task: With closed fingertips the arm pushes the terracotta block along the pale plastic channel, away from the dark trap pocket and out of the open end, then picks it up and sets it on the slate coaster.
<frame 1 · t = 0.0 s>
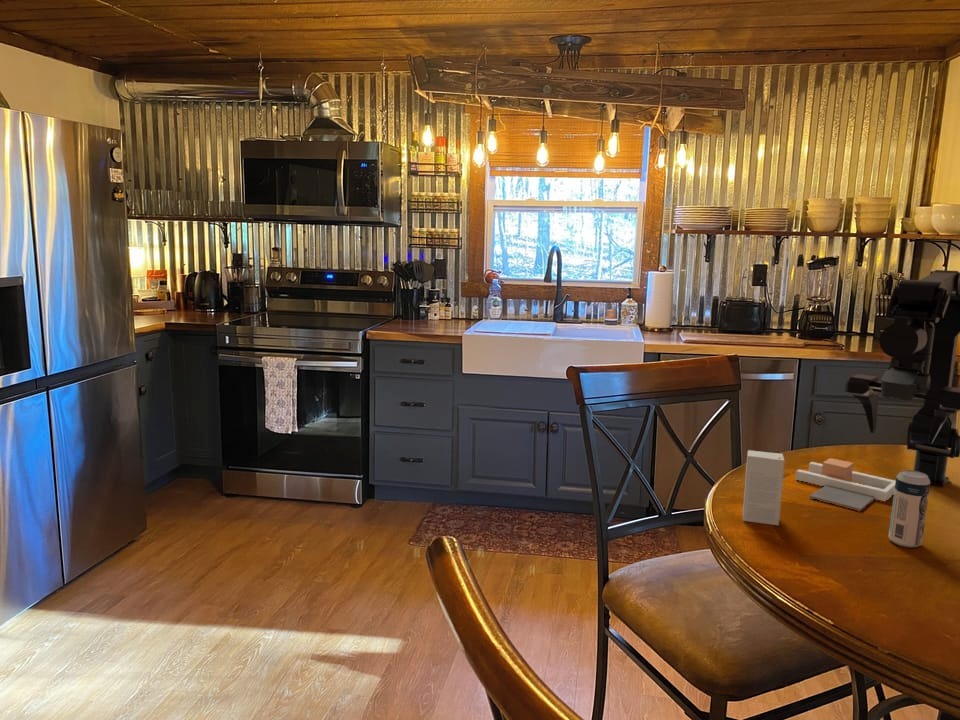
hand: (900, 438, 128), 15 cm above the table, tool pointing down, fingers open, 9 cm apart
skincare box: (759, 520, 127), on the table
beer can: (904, 544, 118), on the table
coaster: (842, 499, 138), on the table
block: (835, 483, 147), resting in channel
channel: (843, 484, 146), on the table
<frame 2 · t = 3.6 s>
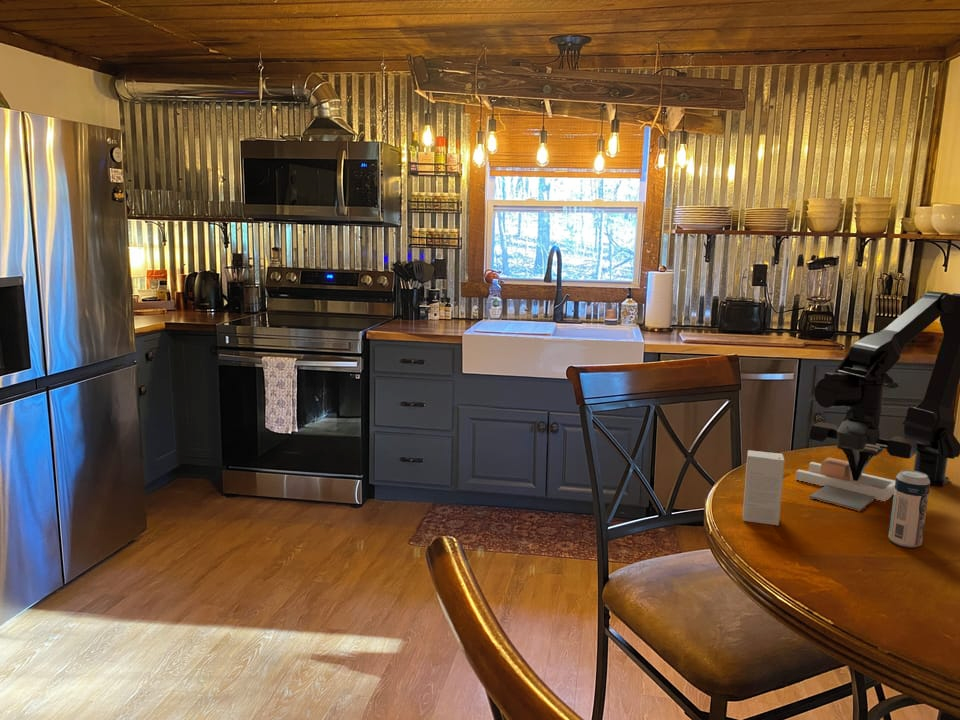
hand: (855, 480, 144), 2 cm above the table, tool pointing down, fingers closed
block: (834, 482, 147), resting in channel, touching gripper
everything else where it was.
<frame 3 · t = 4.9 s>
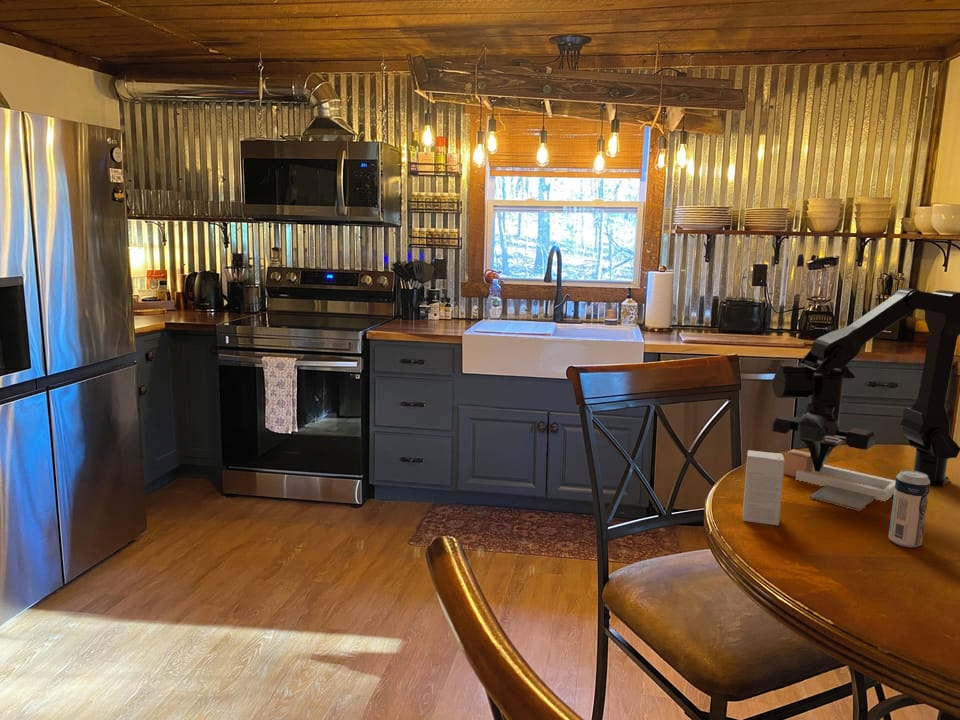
hand: (817, 471, 149), 2 cm above the table, tool pointing down, fingers closed
block: (797, 473, 152), on the table, touching gripper
everything else where it was.
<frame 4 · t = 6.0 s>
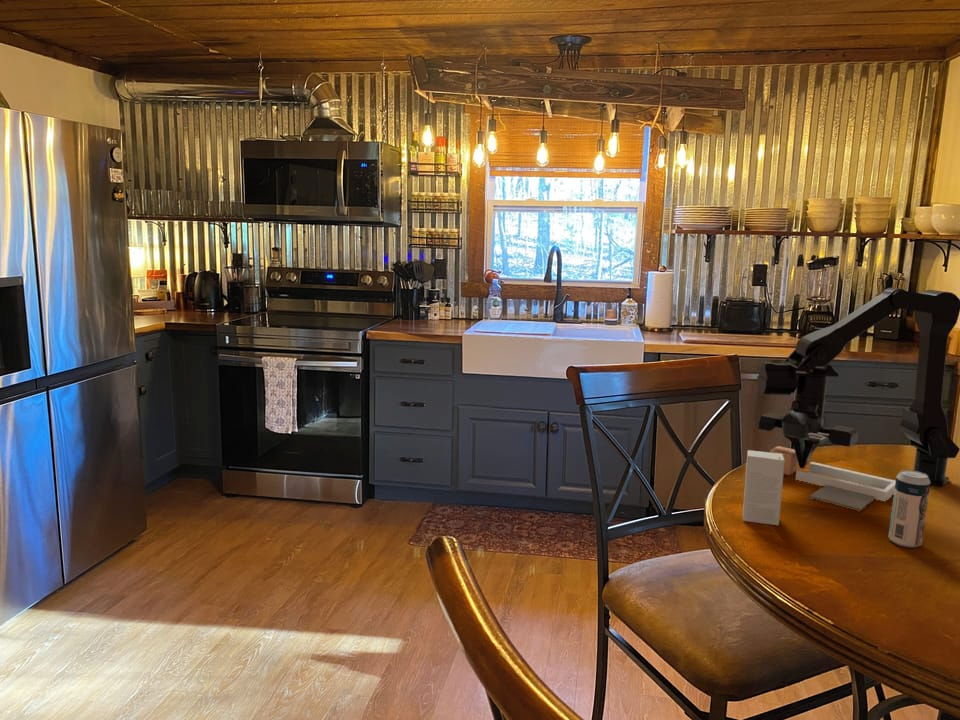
hand: (802, 467, 151), 2 cm above the table, tool pointing down, fingers closed
block: (782, 470, 154), on the table, touching gripper
everything else where it was.
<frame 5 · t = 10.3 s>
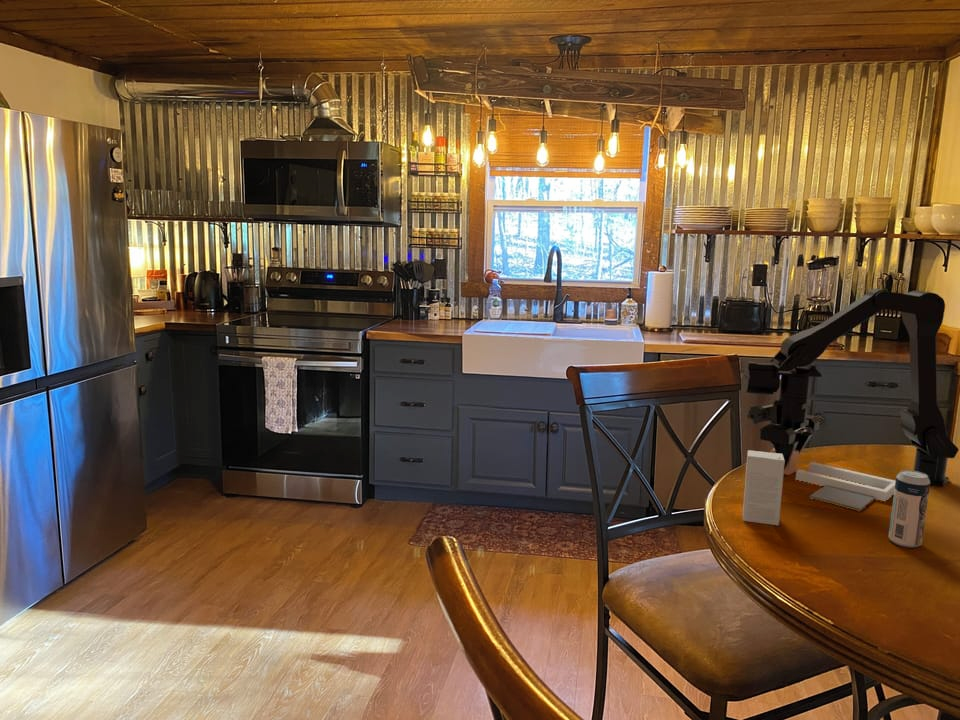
hand: (786, 466, 154), 1 cm above the table, tool pointing down, fingers closed on block, 4 cm apart
block: (782, 470, 154), on the table, touching gripper
everything else where it was.
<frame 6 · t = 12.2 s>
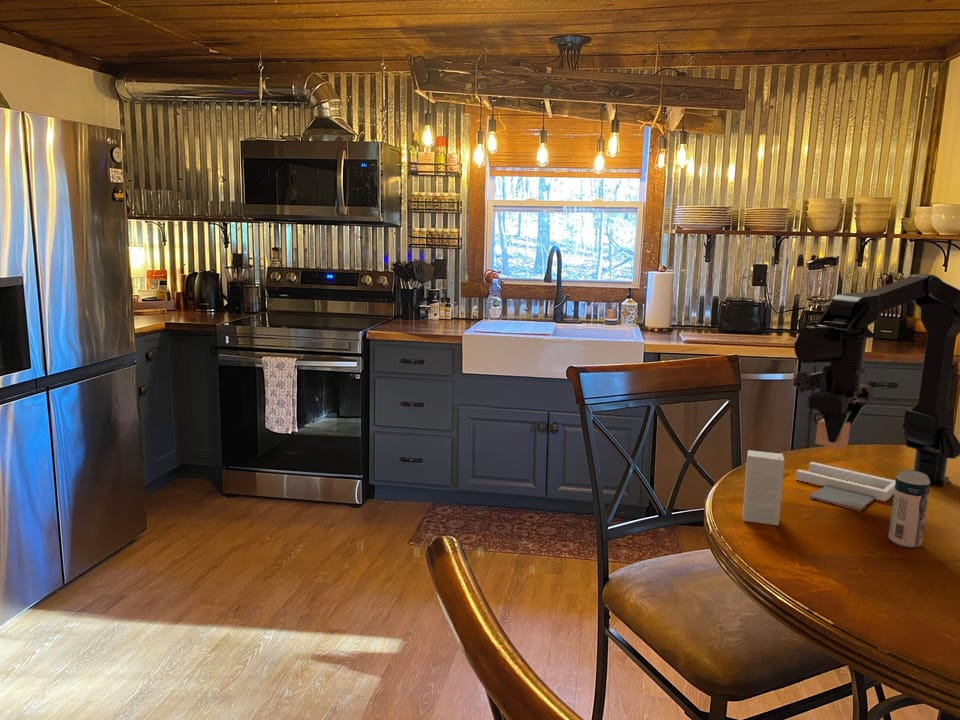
hand: (836, 439, 139), 11 cm above the table, tool pointing down, fingers closed on block, 4 cm apart
block: (831, 444, 140), point 10 cm above the table, touching gripper
everything else where it was.
when the fingers open (3 cm above the table, at t = 14.2 s): block drops 2 cm, resting on coaster.
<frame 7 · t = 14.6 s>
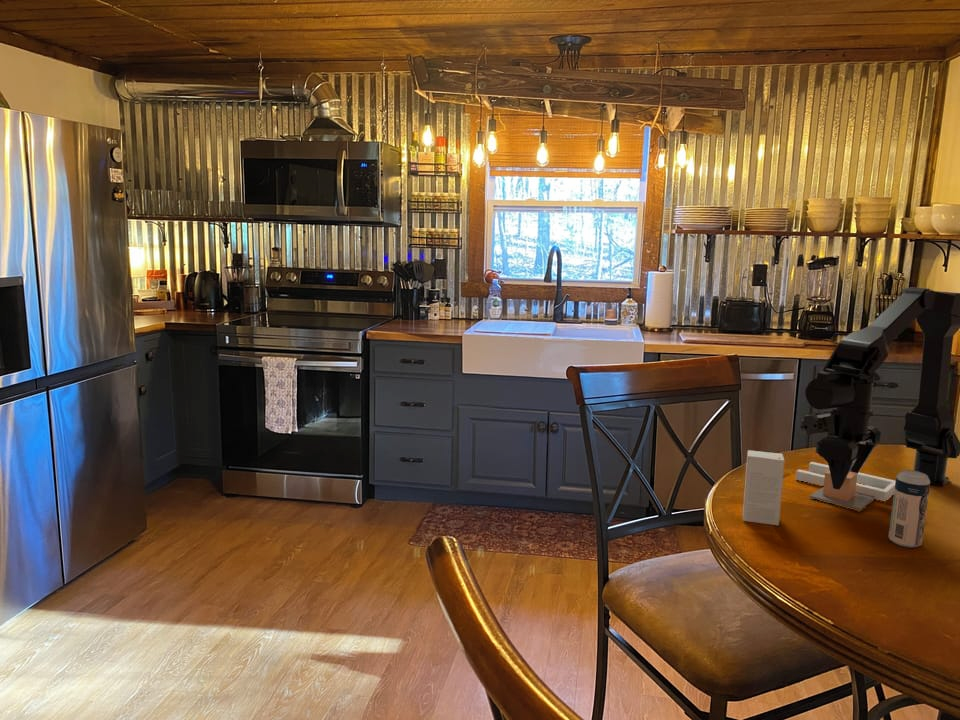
hand: (844, 483, 137), 3 cm above the table, tool pointing down, fingers open, 9 cm apart
block: (838, 495, 138), point 1 cm above the table, touching coaster
everything else where it was.
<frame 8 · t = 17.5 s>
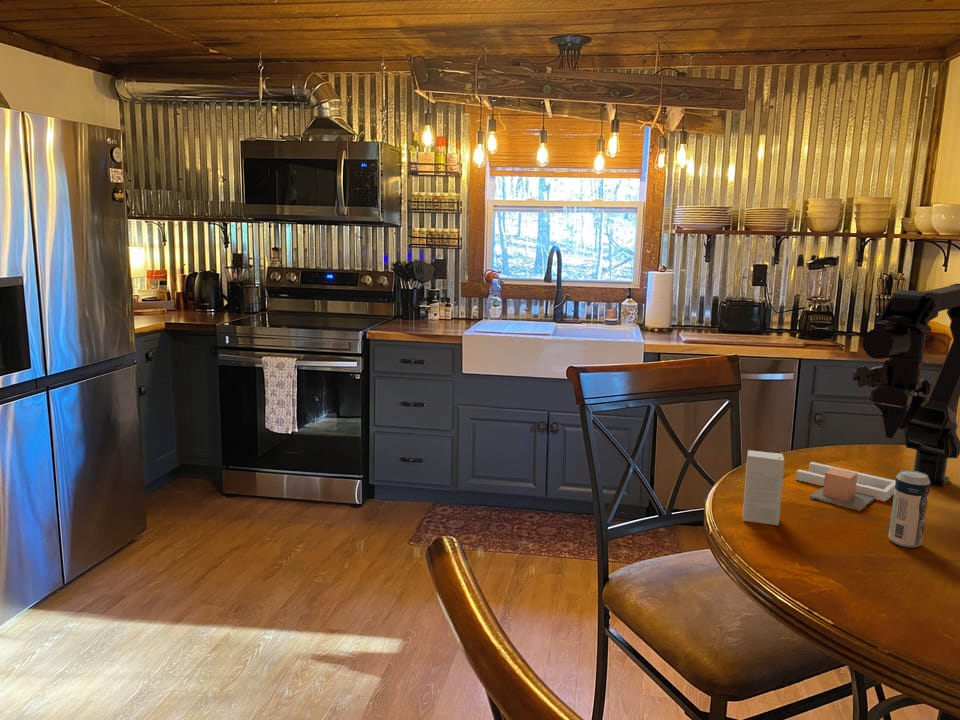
hand: (895, 433, 141), 12 cm above the table, tool pointing down, fingers open, 9 cm apart
nothing on the table moved.
at the end: block inside the target area on the coaster (0.7 cm from its centre), point 0.6 cm above the coaster's base; the gripper is holding nothing; block tilted 0° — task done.
